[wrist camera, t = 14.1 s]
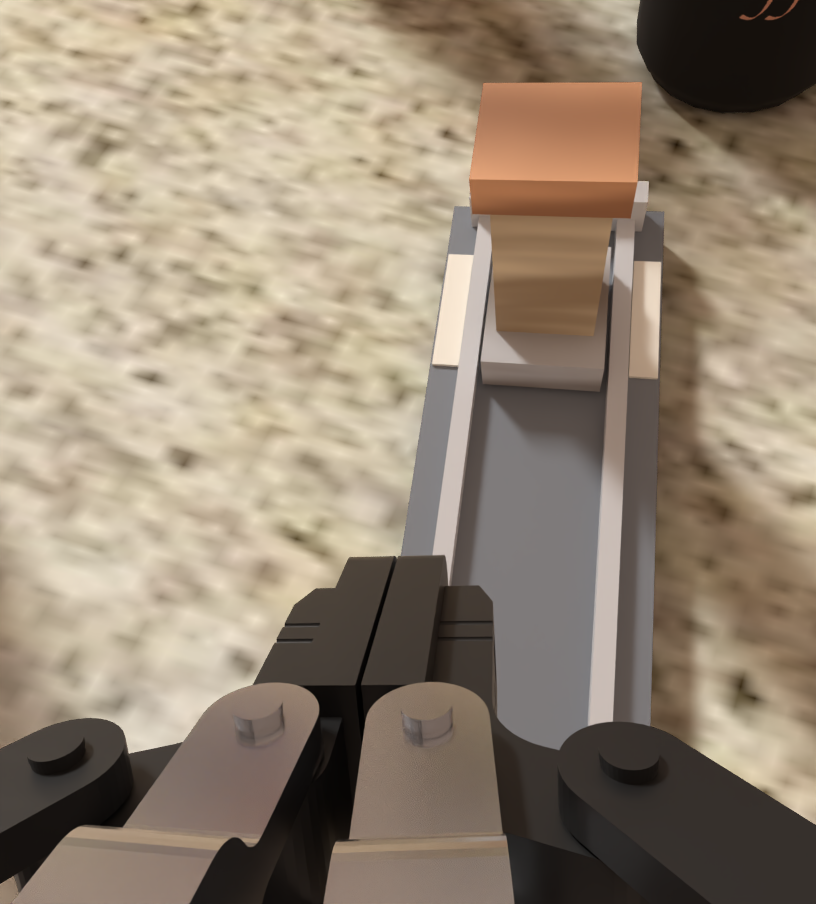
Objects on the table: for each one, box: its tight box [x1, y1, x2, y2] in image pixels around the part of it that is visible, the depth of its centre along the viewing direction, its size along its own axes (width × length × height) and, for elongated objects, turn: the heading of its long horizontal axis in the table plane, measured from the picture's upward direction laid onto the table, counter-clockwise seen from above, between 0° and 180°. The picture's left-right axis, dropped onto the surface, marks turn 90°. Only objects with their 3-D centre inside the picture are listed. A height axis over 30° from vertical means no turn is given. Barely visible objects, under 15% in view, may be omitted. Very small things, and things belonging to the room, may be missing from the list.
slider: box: [469, 82, 642, 392], centre depth 29 cm, size 6×5×12 cm
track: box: [401, 181, 664, 750], centre depth 32 cm, size 28×10×4 cm, turn 171°
